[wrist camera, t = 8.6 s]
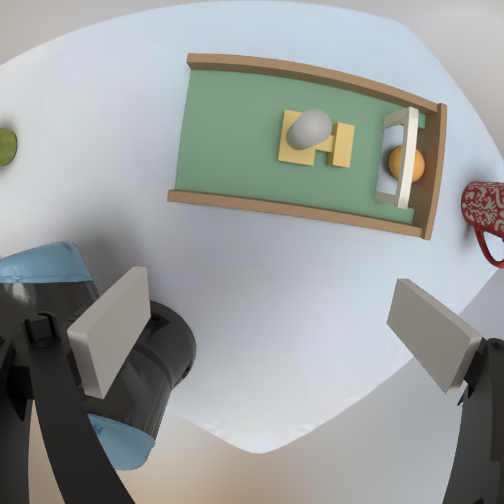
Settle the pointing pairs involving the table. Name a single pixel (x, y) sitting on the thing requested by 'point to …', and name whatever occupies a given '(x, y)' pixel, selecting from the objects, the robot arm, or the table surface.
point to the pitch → (320, 174)
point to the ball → (396, 160)
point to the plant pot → (7, 146)
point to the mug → (485, 212)
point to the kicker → (314, 138)
